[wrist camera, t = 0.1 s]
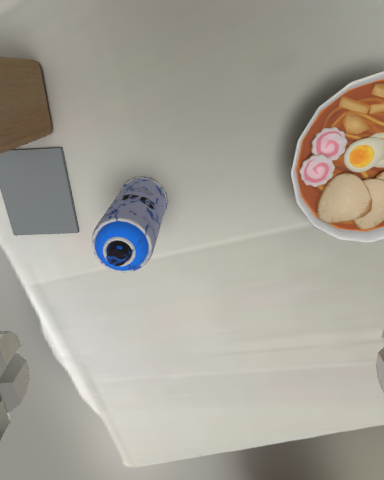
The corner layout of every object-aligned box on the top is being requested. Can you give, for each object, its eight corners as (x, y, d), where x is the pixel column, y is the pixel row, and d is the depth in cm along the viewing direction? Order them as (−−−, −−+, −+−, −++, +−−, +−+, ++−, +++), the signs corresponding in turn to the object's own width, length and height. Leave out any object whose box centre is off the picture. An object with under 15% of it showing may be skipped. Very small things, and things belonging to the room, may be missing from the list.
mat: (-8, 150, 54) (-11, 151, 53) (62, 147, 54) (60, 148, 53) (16, 233, 60) (13, 235, 59) (79, 230, 60) (77, 232, 59)
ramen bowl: (279, 71, 48) (293, 70, 41) (452, 50, 47) (499, 46, 39) (279, 235, 59) (290, 258, 52) (421, 223, 57) (453, 245, 50)
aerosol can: (173, 185, 56) (159, 238, 38) (160, 228, 59) (141, 296, 41) (125, 170, 55) (87, 217, 37) (114, 214, 58) (75, 277, 40)
